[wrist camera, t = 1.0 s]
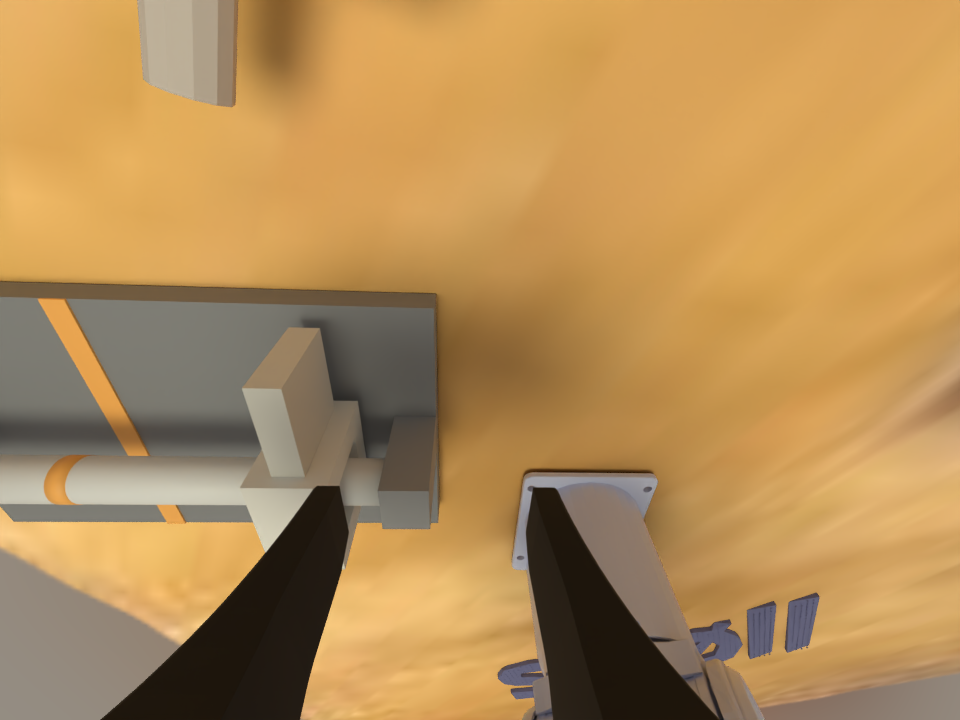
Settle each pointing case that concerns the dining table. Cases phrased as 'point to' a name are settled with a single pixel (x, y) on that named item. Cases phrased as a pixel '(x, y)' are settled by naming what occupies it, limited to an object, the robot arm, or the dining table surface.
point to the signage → (709, 640)
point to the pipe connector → (190, 48)
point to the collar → (297, 434)
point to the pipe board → (201, 399)
